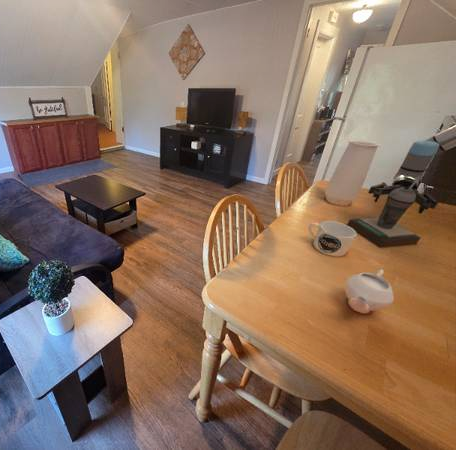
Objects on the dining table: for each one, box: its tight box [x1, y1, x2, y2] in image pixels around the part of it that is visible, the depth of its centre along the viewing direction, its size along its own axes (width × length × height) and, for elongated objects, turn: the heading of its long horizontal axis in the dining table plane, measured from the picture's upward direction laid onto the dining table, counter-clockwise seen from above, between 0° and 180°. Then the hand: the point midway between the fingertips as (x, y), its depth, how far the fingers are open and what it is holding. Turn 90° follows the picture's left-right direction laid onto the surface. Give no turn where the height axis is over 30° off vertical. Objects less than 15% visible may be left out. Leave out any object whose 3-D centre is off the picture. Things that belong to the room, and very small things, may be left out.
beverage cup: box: [377, 176, 421, 229], centre depth 87 cm, size 7×7×20 cm
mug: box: [308, 220, 358, 257], centre depth 85 cm, size 13×10×8 cm
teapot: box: [344, 268, 395, 314], centre depth 63 cm, size 10×20×9 cm, turn 129°
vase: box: [324, 138, 382, 207], centre depth 111 cm, size 13×13×28 cm
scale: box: [346, 216, 421, 249], centre depth 93 cm, size 15×15×4 cm
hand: (398, 204), depth 84 cm, fingers open, 11 cm apart
